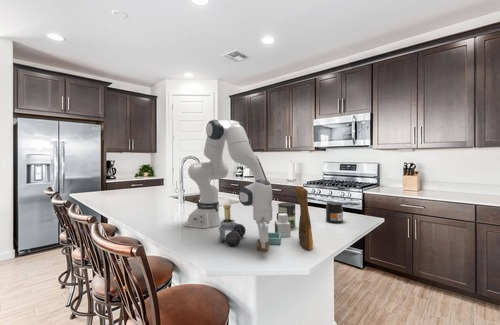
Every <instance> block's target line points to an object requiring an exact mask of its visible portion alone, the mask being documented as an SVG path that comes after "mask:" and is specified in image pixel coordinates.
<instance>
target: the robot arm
mask: <svg viewBox="0 0 500 325" xmlns="http://www.w3.org/2000/svg"><path fill="white" fill-rule="evenodd" d="M205 132H206V135H207V136H206V139H205V144H204V150H203V154H204V156H205V157H206V159H208V160H209V161H208V162H207V161H206V162H195V163H191V164H190V165H189V166H188V170H187V174H188V176H189V178H190V179H191V180H192V181H193V182H195V184H196V185H197V187H198V190H199V199H200V201H199V202H198V203H196V206H197V208H196V209H194V210H192V212H191V213H190V214H188V218H187V221H185V222H184V223H183V225H184V227H186V228H187V227H188V228H195V229H196V228H197V229H208V228H214V227H218V226H219V227H220V226H221V218H220V213H219V210H220V201H219V190H218V188H217V187H216V186H215V185H212V184H211V182H210V180H211V181H212V180H221V179H224V178H226V177H227V176H228V174H229V167H228V165H227V163H225V162H224V160H223V153H224V149H225V143H226V145H227V149H228V153H229V156H230V158H231V159H232V161H234V162H235V163H237V164H240V165H242V166H244V167H247V168H248V169H249V170H250V171H251V173H252V175H253V178H254V181H253V183H251V184H249V185H246V186H245V185H244V186H243V187H241V188H240V189H239V191H238V201H239V202H240V203H241V205H243V207H244V206H246V207H251V206H252V207H253V208H252V210H253V211H252V220H253V221H255V223H256V225H257V229H258V239H260V242H261V248H265V244H266V242H268V233H269V224H270V223H271V222H270V221H272V220H273V206H272V202H273V197H274V190H273V187H272V184H271V182H270V181H269V180H268V179H267V177H266V174H265V171H264V169H263V166H262V163H261V161H260V159H259V157H258V156H257V155H256V154H255V152H254V151H253V149H252V147H251V145H250V141H249V138H248V135H247V132H246V127H245V124H244V123H243V122H242V121H239V120H232V119H212V120H210V121H208V122H207V124H206V127H205Z"/></svg>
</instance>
